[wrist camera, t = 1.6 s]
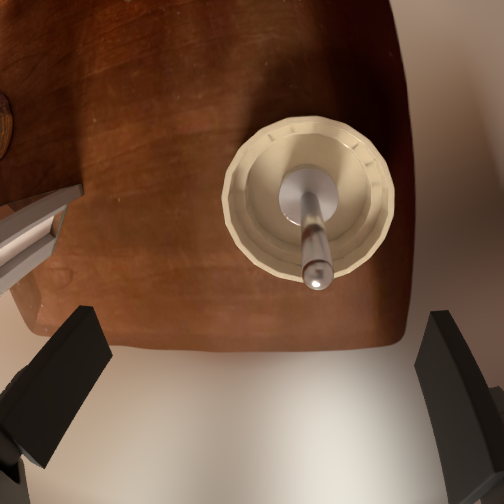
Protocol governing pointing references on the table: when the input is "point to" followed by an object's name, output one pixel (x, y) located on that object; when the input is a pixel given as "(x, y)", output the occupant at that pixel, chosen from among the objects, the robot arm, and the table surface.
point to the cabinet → (31, 232)
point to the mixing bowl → (268, 184)
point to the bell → (5, 125)
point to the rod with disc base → (311, 218)
